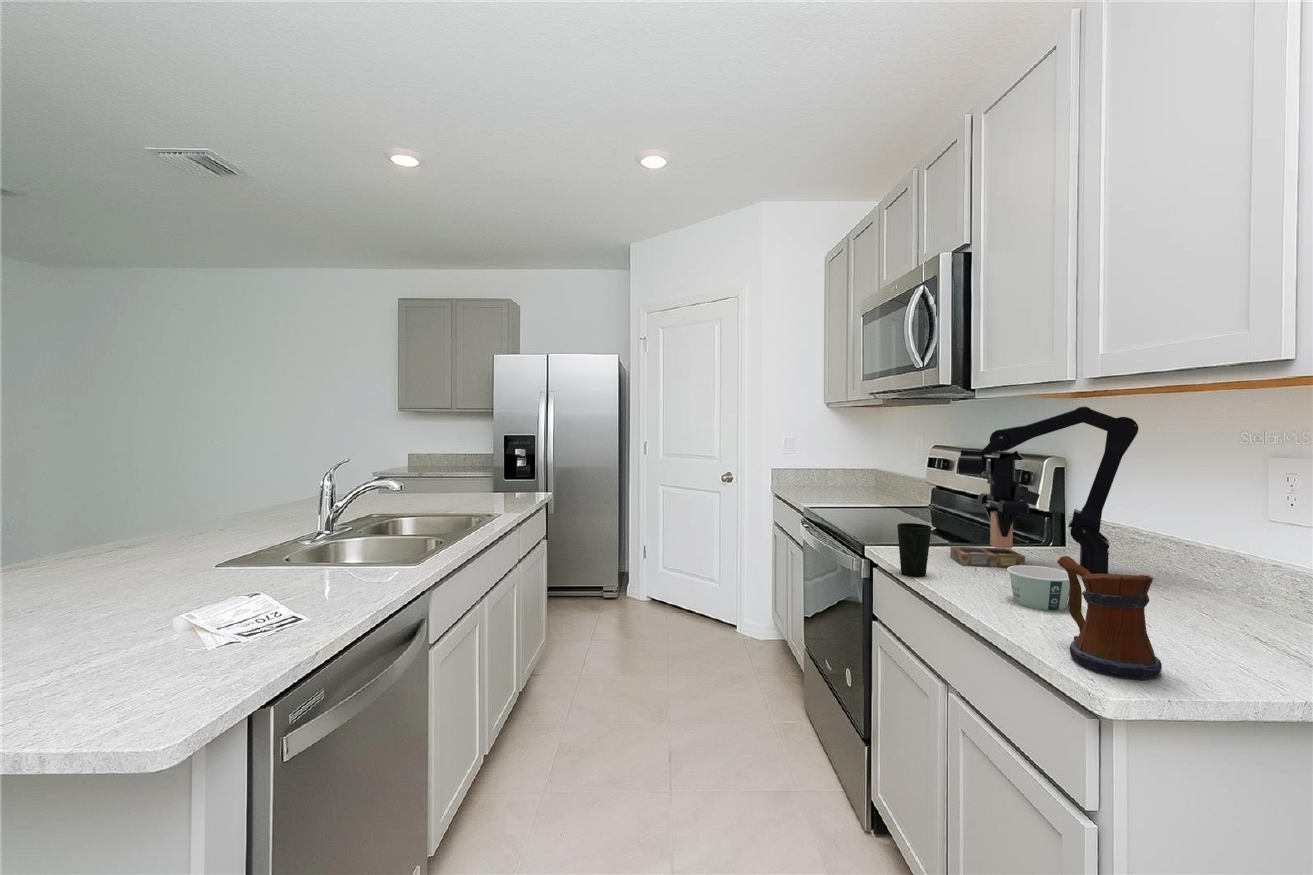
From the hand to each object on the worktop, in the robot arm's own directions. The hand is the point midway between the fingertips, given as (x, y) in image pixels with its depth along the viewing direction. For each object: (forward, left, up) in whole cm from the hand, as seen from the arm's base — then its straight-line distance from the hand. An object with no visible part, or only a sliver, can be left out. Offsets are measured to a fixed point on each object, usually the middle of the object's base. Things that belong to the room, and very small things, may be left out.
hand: (1001, 535), depth 161 cm
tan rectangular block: (0, 0, -3) cm, 3 cm away
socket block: (0, +4, -8) cm, 8 cm away
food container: (-37, +6, -8) cm, 38 cm away
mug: (-67, +10, -8) cm, 68 cm away
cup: (-17, +26, -8) cm, 32 cm away
